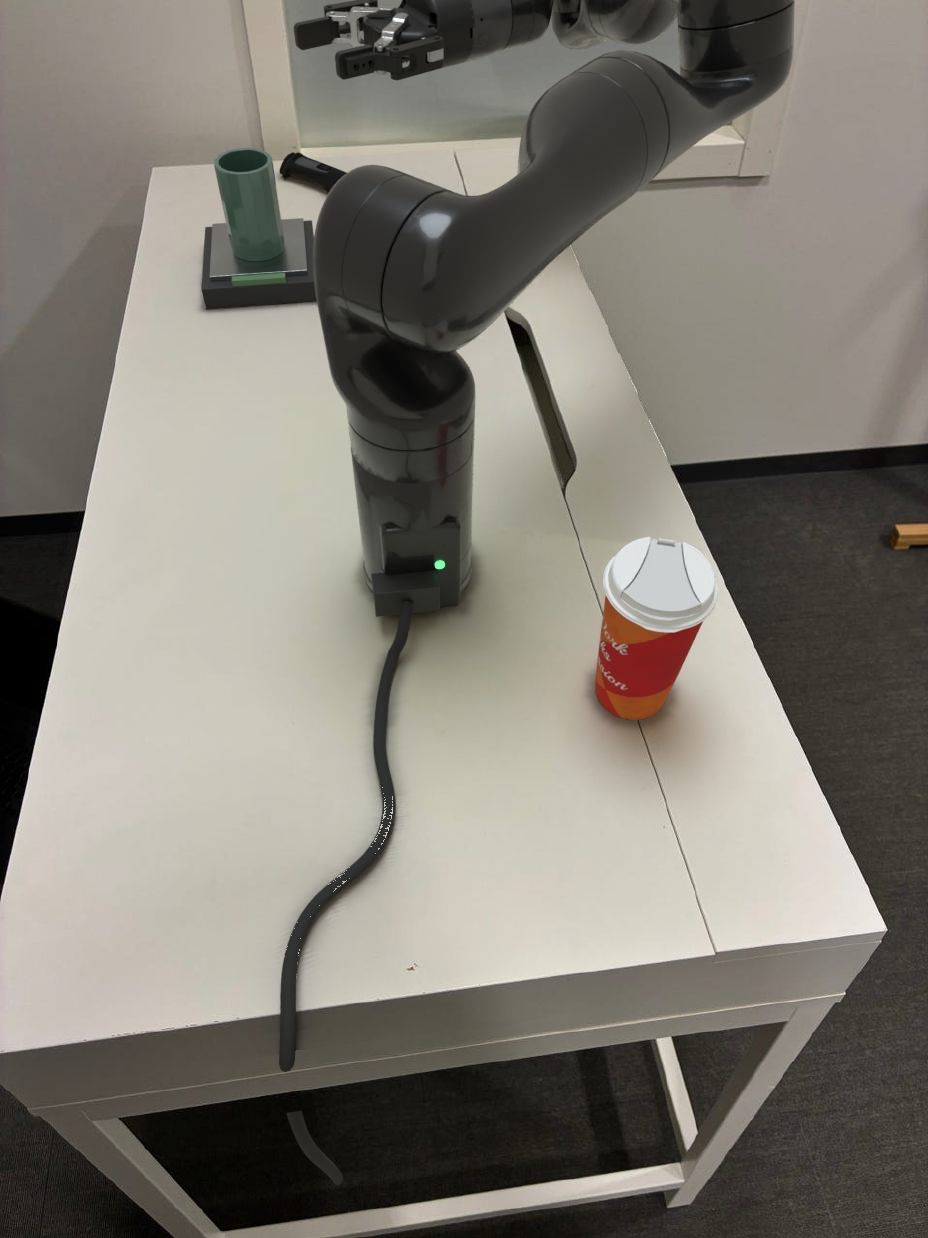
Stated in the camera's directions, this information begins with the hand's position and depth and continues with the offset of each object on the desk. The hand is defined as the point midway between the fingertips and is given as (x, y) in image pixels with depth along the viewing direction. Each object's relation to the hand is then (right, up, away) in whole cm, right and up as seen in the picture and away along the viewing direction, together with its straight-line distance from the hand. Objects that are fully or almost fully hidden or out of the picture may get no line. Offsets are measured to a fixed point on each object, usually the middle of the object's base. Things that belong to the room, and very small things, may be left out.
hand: (316, 51), depth 84 cm
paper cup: (+27, -60, -15) cm, 68 cm away
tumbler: (-10, -11, +19) cm, 24 cm away
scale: (-10, -13, +22) cm, 27 cm away
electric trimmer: (-4, +4, +35) cm, 36 cm away
